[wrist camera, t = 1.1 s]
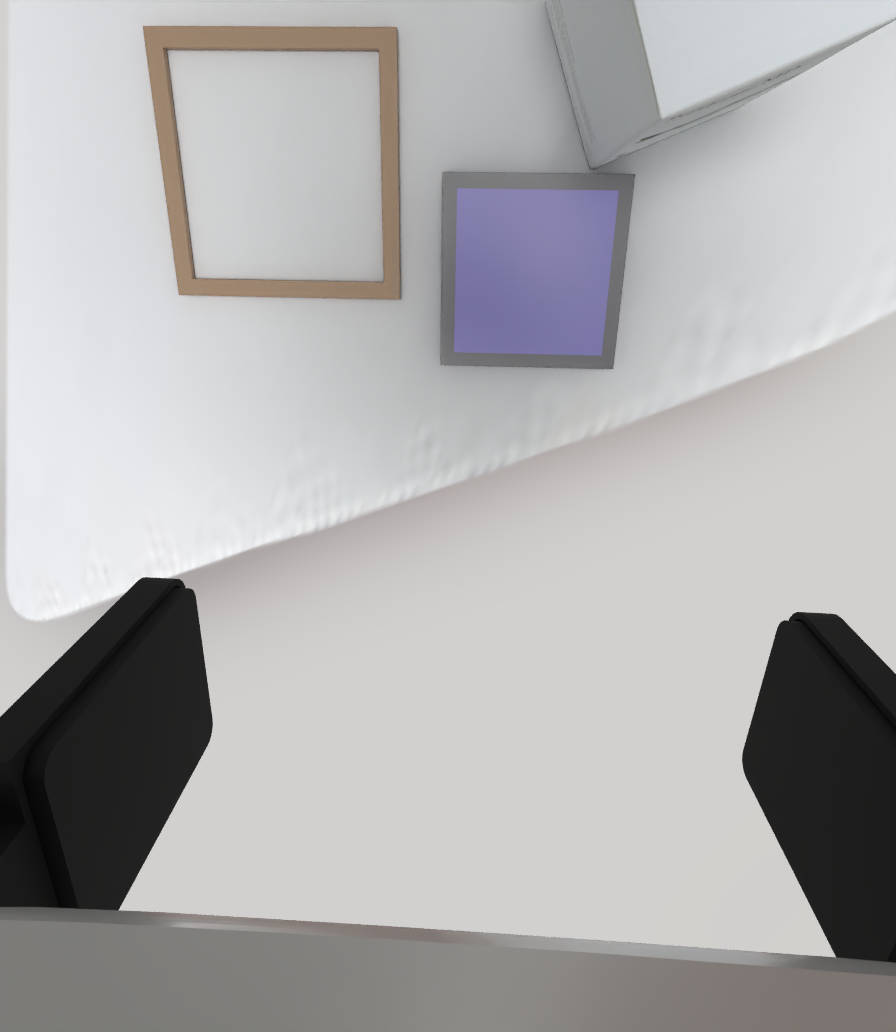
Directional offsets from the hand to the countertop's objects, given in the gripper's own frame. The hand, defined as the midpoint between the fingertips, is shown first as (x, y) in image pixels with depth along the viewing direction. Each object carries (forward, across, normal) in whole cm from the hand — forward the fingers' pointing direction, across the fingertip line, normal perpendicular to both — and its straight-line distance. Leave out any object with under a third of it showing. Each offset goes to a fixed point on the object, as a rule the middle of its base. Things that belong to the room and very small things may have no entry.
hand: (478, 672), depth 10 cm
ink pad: (+27, -2, -5) cm, 27 cm away
